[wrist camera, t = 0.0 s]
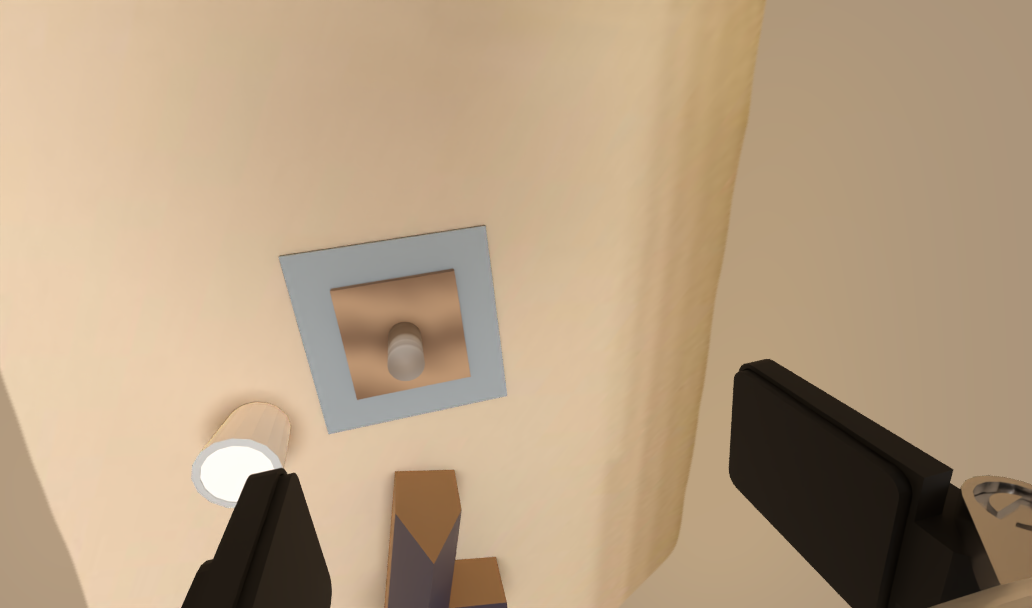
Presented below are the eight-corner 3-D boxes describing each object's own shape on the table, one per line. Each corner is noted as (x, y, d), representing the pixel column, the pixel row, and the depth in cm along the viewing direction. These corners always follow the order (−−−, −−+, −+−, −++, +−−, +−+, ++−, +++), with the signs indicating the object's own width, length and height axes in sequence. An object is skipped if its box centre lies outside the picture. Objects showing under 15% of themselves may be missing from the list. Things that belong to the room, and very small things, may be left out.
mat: (279, 256, 42) (278, 257, 42) (484, 225, 46) (485, 226, 45) (329, 431, 49) (328, 434, 48) (506, 394, 52) (507, 395, 52)
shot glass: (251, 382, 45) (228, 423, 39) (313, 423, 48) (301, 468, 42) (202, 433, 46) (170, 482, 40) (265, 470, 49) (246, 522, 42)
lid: (330, 288, 44) (320, 315, 38) (453, 268, 46) (462, 290, 40) (357, 395, 48) (352, 435, 42) (469, 373, 50) (480, 407, 44)
